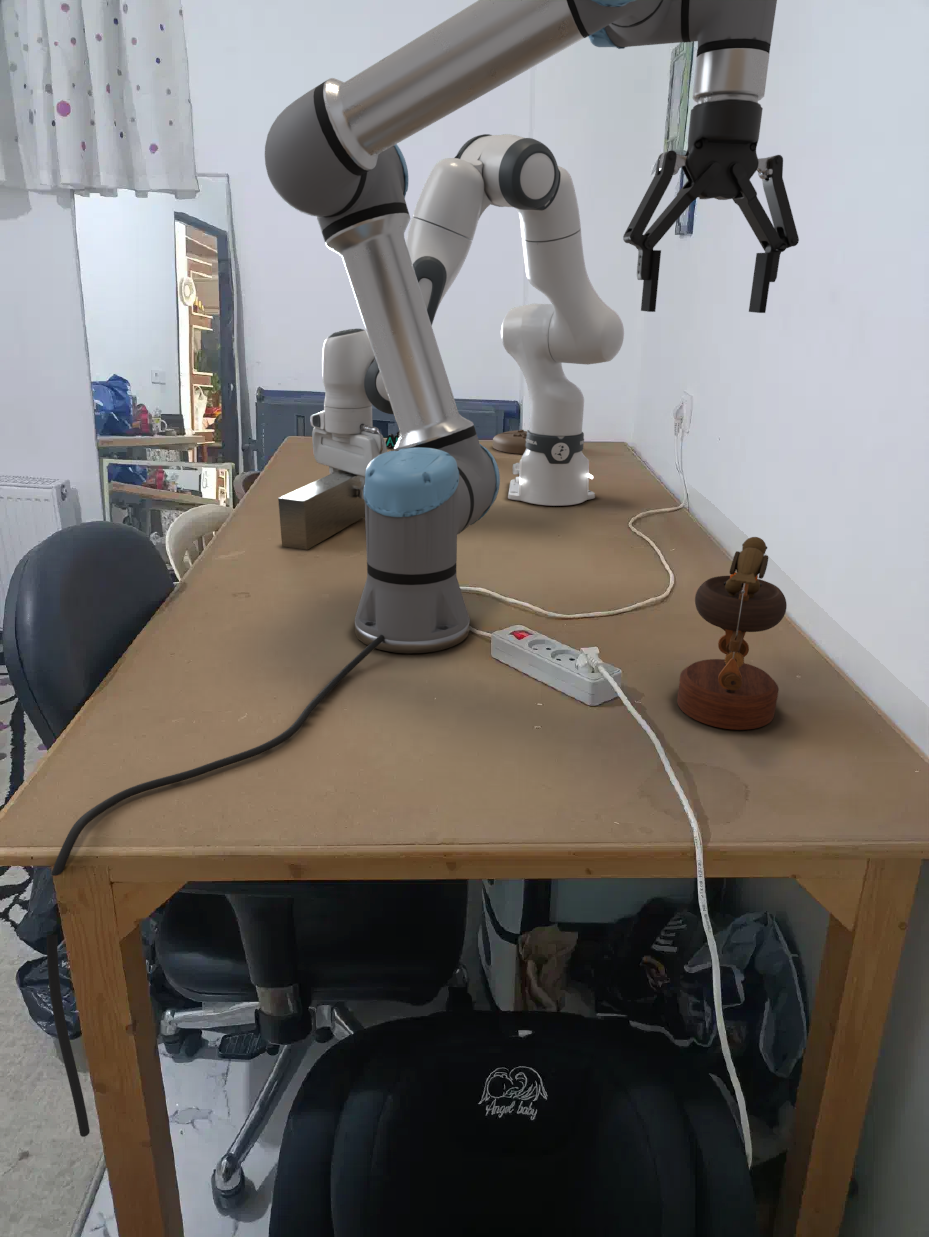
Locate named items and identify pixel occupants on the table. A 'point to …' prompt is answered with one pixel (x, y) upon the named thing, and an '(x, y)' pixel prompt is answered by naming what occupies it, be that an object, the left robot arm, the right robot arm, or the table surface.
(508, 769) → the table surface
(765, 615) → the music box
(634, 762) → the table surface
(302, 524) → the bar
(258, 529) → the table surface
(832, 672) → the table surface
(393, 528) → the left robot arm
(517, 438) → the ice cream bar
